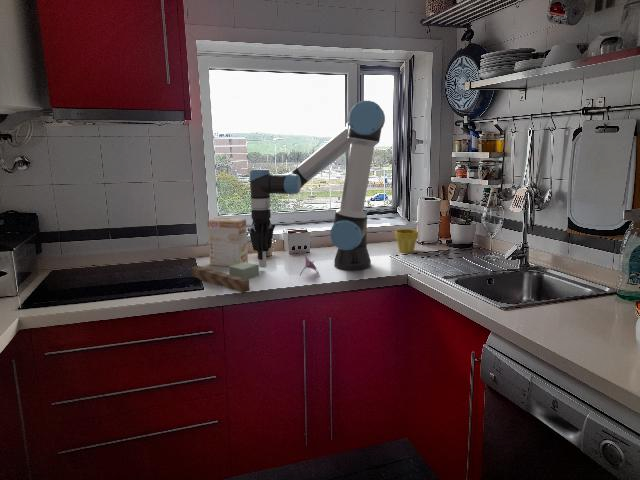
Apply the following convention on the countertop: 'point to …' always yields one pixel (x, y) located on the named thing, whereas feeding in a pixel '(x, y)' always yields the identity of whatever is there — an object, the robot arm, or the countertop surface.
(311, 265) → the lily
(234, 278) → the walnut plank
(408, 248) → the plant pot
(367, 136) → the robot arm
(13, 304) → the countertop surface
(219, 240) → the coffeecake box
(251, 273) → the sage block
